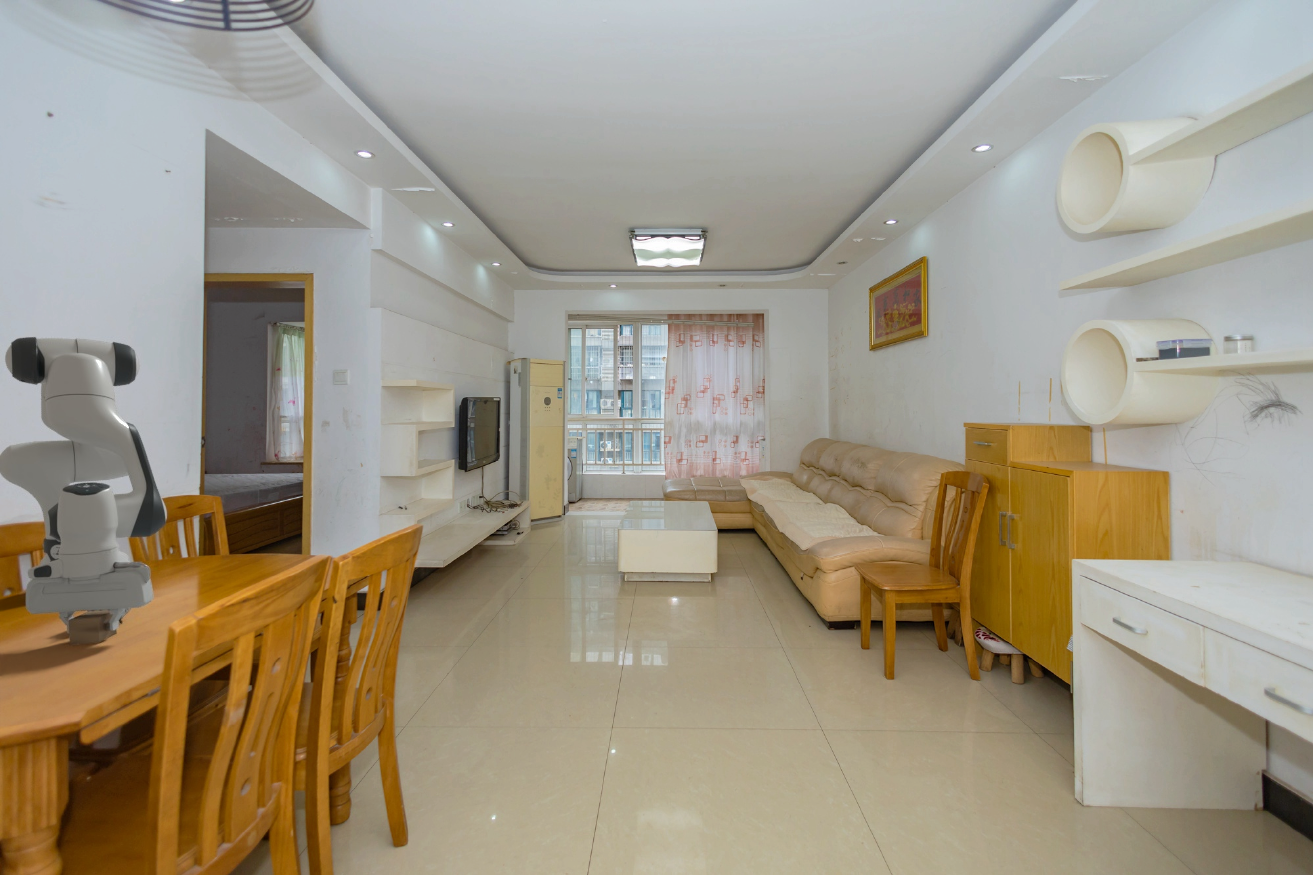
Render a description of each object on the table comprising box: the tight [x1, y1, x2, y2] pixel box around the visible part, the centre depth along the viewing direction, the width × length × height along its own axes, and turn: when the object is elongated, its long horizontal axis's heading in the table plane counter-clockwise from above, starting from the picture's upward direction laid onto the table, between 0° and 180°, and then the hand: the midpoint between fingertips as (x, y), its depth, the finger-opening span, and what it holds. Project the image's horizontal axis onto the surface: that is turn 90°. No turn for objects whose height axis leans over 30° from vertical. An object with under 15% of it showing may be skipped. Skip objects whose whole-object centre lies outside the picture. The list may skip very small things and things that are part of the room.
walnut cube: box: [68, 610, 117, 646], centre depth 120 cm, size 5×5×5 cm
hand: (93, 630), depth 120 cm, fingers closed on walnut cube, 5 cm apart
